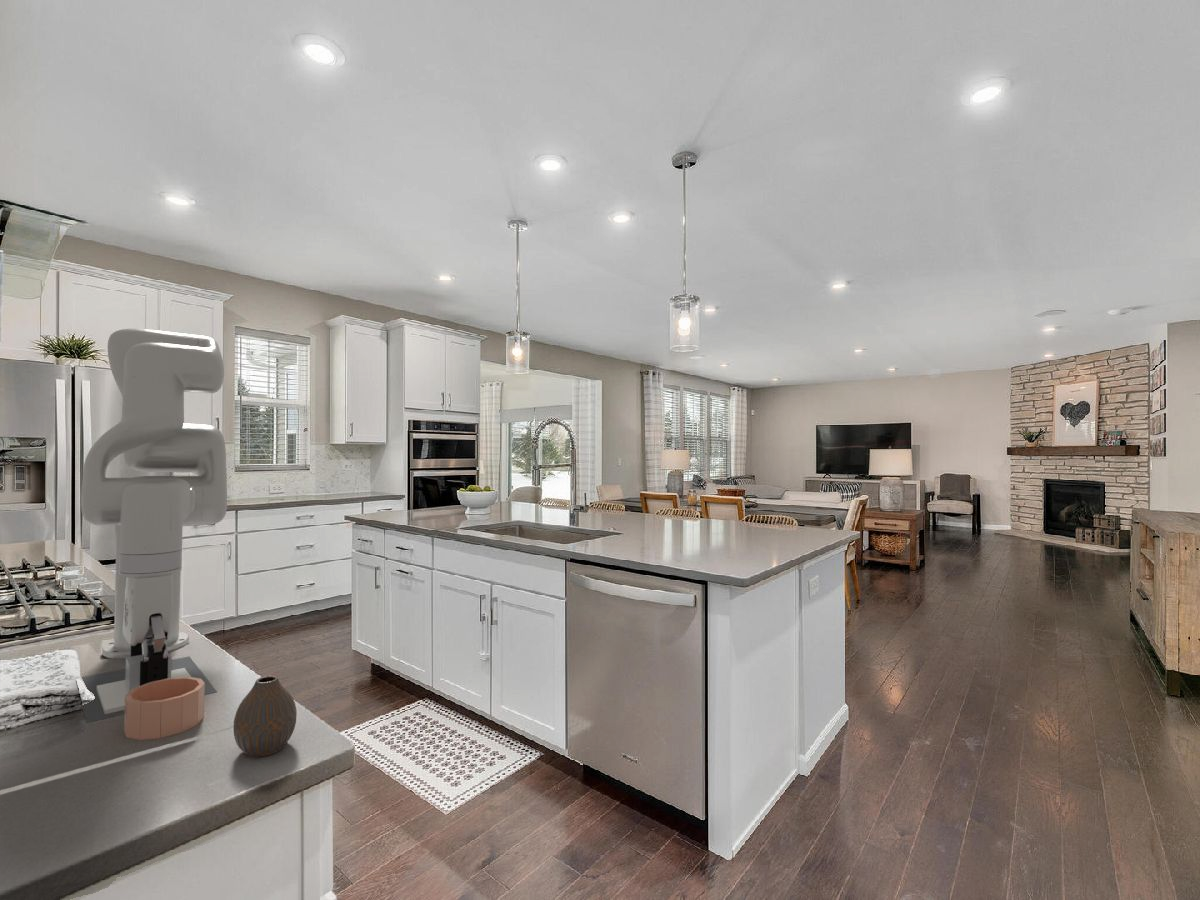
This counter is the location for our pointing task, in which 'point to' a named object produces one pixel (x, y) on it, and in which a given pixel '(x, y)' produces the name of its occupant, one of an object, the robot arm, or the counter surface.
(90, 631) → the counter surface
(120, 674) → the mat
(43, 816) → the counter surface
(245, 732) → the vase
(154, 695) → the bowl
